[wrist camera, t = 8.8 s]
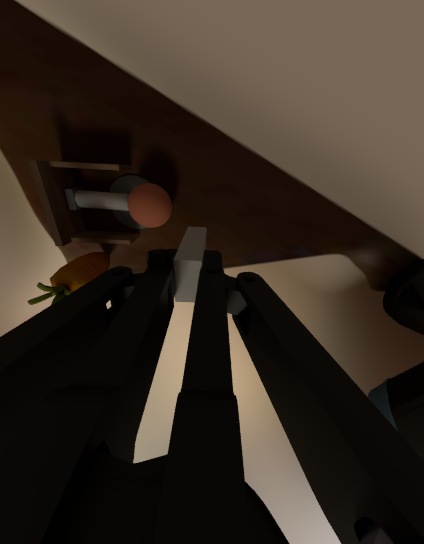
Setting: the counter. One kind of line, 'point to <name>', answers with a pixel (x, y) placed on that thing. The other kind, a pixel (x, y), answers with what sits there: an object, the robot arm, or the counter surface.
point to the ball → (149, 205)
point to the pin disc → (125, 187)
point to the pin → (95, 199)
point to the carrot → (74, 276)
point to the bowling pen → (53, 198)
